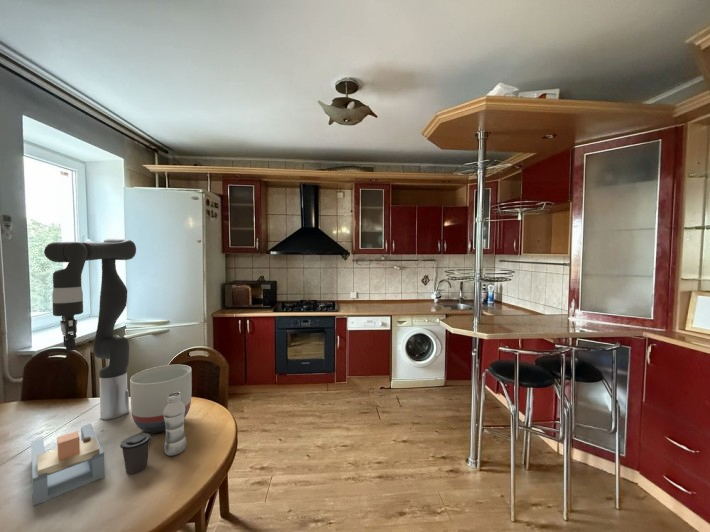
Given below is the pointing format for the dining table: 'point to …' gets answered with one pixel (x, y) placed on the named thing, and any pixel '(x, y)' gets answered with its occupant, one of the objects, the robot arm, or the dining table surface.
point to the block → (68, 445)
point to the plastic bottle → (174, 425)
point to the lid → (52, 464)
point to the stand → (65, 471)
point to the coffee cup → (136, 452)
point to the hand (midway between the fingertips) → (69, 348)
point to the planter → (158, 394)
